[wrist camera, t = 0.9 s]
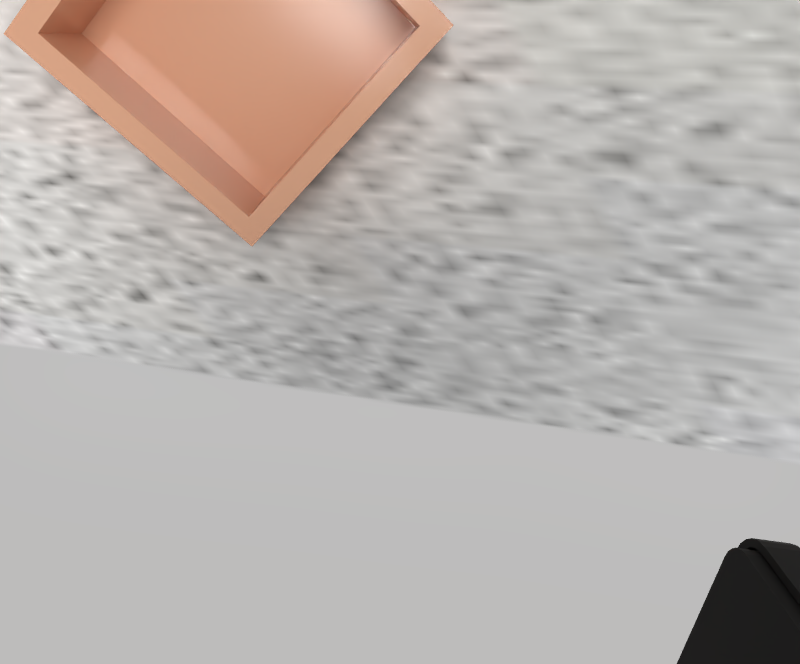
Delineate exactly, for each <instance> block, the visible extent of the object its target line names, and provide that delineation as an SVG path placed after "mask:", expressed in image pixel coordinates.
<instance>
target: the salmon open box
mask: <svg viewBox="0 0 800 664" xmlns="http://www.w3.org/2000/svg"><path fill="white" fill-rule="evenodd" d="M452 26H453V24H452V23H451V22H450V21H449V20H448V19H447V18H446V17H445V16H444V14H443V13H442V12H441V11H440V10H439V9H438V8H437V7H436V6H435V5H434V4H433V3H432V1H431V0H27V1H26V3H25V4H24V5H23V7H22V8H21V10H20V11H19V13H18V14H17V15H16V17H15V18H14V20H13V21H12V23H11V24H10V26H9V27H8V28H7V30H6V31H5V33H4V34H5V35H6V36H7V37H8V38H9V39H11V40H12V41H13V42H14V43H15V44H16V45H18V46H19V47H20V48H21V49H22V50H23V51H25V52H26V53H27V54H28V55H29V56H30V57H32V58H33V59H34V60H35V61H36V62H37V63H39V64H40V65H41V66H42V67H43V68H44V69H46V70H47V71H48V72H49V73H50V74H51V75H53V76H54V77H55V78H56V79H57V80H58V81H60V82H61V83H62V84H63V85H64V86H65V87H67V88H68V89H69V90H70V91H71V92H72V93H74V94H75V95H76V96H77V97H78V98H79V99H81V100H82V101H83V102H84V103H85V104H86V105H88V106H89V107H90V108H91V109H92V110H93V111H95V112H96V113H97V114H98V115H99V116H100V117H102V118H103V119H104V120H105V121H106V122H107V123H109V124H110V125H111V126H112V127H113V128H114V129H116V130H117V131H118V132H119V133H120V134H121V135H123V136H124V137H125V138H126V139H127V140H128V141H130V142H131V143H132V144H133V145H134V146H135V147H137V148H138V149H139V150H140V151H141V152H142V153H144V154H145V155H146V156H147V157H148V158H149V159H151V160H152V161H153V162H154V163H155V164H156V165H158V166H159V167H160V168H161V169H162V170H163V171H165V172H166V173H167V174H168V175H169V176H170V177H172V178H173V179H174V180H175V181H176V182H177V183H179V184H180V185H181V186H182V187H183V188H184V189H186V190H187V191H188V192H189V193H190V194H191V195H193V196H194V197H195V198H196V199H197V200H198V201H200V202H201V203H202V204H203V205H204V206H205V207H207V208H208V209H209V210H210V211H211V212H212V213H214V214H215V215H216V216H217V217H218V218H219V219H221V220H222V221H223V222H224V223H225V224H226V225H228V226H229V227H230V228H231V229H232V230H233V231H235V232H236V233H237V234H238V235H239V236H240V237H242V238H243V239H244V240H245V241H246V242H247V243H249V244H250V245H251V246H253V245H254V244H255V243H256V242H257V241H258V239H259V238H260V237H261V236H262V235H263V234H264V233H265V232H266V231H267V230H268V228H269V227H270V226H271V225H272V224H273V223H274V222H275V221H276V220H277V219H278V217H279V216H280V215H281V214H282V213H283V212H284V211H285V210H286V209H287V208H288V206H289V205H290V204H291V203H292V202H293V201H294V200H295V199H296V198H297V197H298V195H299V194H300V193H301V192H302V191H303V190H304V189H305V188H306V187H307V186H308V185H309V183H310V182H311V181H312V180H313V179H314V178H315V177H316V176H317V175H318V174H319V172H320V171H321V170H322V169H323V168H324V167H325V166H326V165H327V164H328V163H329V161H330V160H331V159H332V158H333V157H334V156H335V155H336V154H337V153H338V152H339V150H340V149H341V148H342V147H343V146H344V145H345V144H346V143H347V142H348V141H349V139H350V138H351V137H352V136H353V135H354V134H355V133H356V132H357V131H358V130H359V128H360V127H361V126H362V125H363V124H364V123H365V122H366V121H367V120H368V119H369V118H370V116H371V115H372V114H373V113H374V112H375V111H376V110H377V109H378V108H379V107H380V105H381V104H382V103H383V102H384V101H385V100H386V99H387V98H388V97H389V96H390V94H391V93H392V92H393V91H394V90H395V89H396V88H397V87H398V86H399V85H400V83H401V82H402V81H403V80H404V79H405V78H406V77H407V76H408V75H409V74H410V72H411V71H412V70H413V69H414V68H415V67H416V66H417V65H418V64H419V63H420V61H421V60H422V59H423V58H424V57H425V56H426V55H427V54H428V53H429V52H430V50H431V49H432V48H433V47H434V46H435V45H436V44H437V43H438V42H439V41H440V40H441V38H442V37H443V36H444V35H445V34H446V33H447V32H448V31H449V30H450V29H451V27H452Z"/></svg>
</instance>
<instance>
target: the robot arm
mask: <svg viewBox="0 0 800 664" xmlns="http://www.w3.org/2000/svg"><path fill="white" fill-rule="evenodd" d="M677 664H800V548H799V547H798V546H796V545H793V544H790V543H783V542H775V541H768V540H760V539H753V538H751V539H746V540H744V541H743V542H742V543H740V545H739V547H738V548H732V549H731V550H729V551H728V553H727V554H726V556H725V557H724V560H723V562H722V564H721V566H720V569H719V571H718V573H717V575H716V578H715V580H714V582H713V584H712V586H711V589H710V591H709V593H708V595H707V598H706V600H705V602H704V604H703V607H702V609H701V611H700V613H699V615H698V618H697V620H696V622H695V625H694V627H693V629H692V631H691V633H690V636H689V638H688V640H687V642H686V644H685V647H684V649H683V651H682V654H681V656H680V658H679V660H678V662H677Z"/></svg>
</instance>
